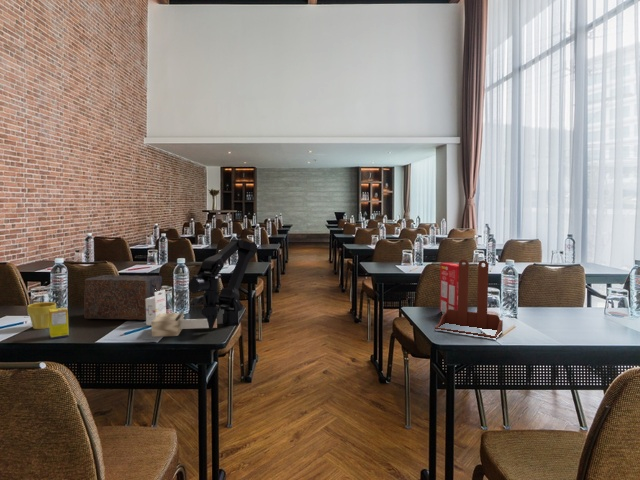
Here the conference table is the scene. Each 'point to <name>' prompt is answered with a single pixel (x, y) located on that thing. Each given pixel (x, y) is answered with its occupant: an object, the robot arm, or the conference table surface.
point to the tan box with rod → (167, 324)
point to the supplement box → (58, 323)
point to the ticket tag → (196, 323)
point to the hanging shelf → (481, 316)
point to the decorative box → (119, 296)
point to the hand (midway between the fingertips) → (211, 326)
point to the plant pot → (40, 314)
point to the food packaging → (449, 287)
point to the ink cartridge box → (155, 306)
